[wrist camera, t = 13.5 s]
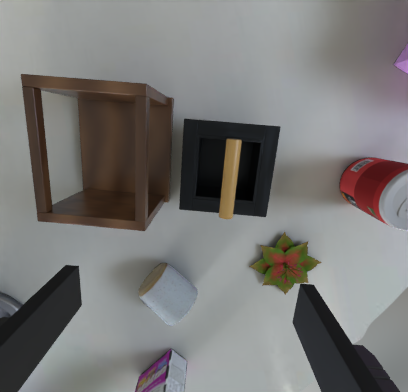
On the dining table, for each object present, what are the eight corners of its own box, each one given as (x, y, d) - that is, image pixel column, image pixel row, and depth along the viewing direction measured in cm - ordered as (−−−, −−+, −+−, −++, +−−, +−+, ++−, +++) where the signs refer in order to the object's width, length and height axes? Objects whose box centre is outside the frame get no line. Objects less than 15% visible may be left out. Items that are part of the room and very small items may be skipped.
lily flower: (284, 301, 46) (291, 320, 42) (237, 265, 45) (239, 280, 40) (332, 259, 43) (345, 274, 39) (283, 218, 42) (291, 229, 37)
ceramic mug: (167, 252, 44) (157, 278, 37) (200, 280, 46) (196, 310, 38) (132, 286, 47) (116, 317, 40) (163, 312, 48) (153, 346, 41)
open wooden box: (87, 193, 42) (32, 220, 30) (81, 91, 38) (14, 73, 25) (169, 200, 42) (149, 231, 29) (173, 98, 37) (152, 84, 25)
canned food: (330, 198, 40) (371, 224, 30) (349, 151, 38) (400, 160, 28) (374, 209, 41) (431, 238, 30) (395, 162, 38) (464, 175, 28)
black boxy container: (185, 196, 41) (170, 229, 28) (189, 120, 38) (175, 116, 25) (257, 202, 41) (278, 239, 28) (268, 126, 38) (298, 126, 24)
